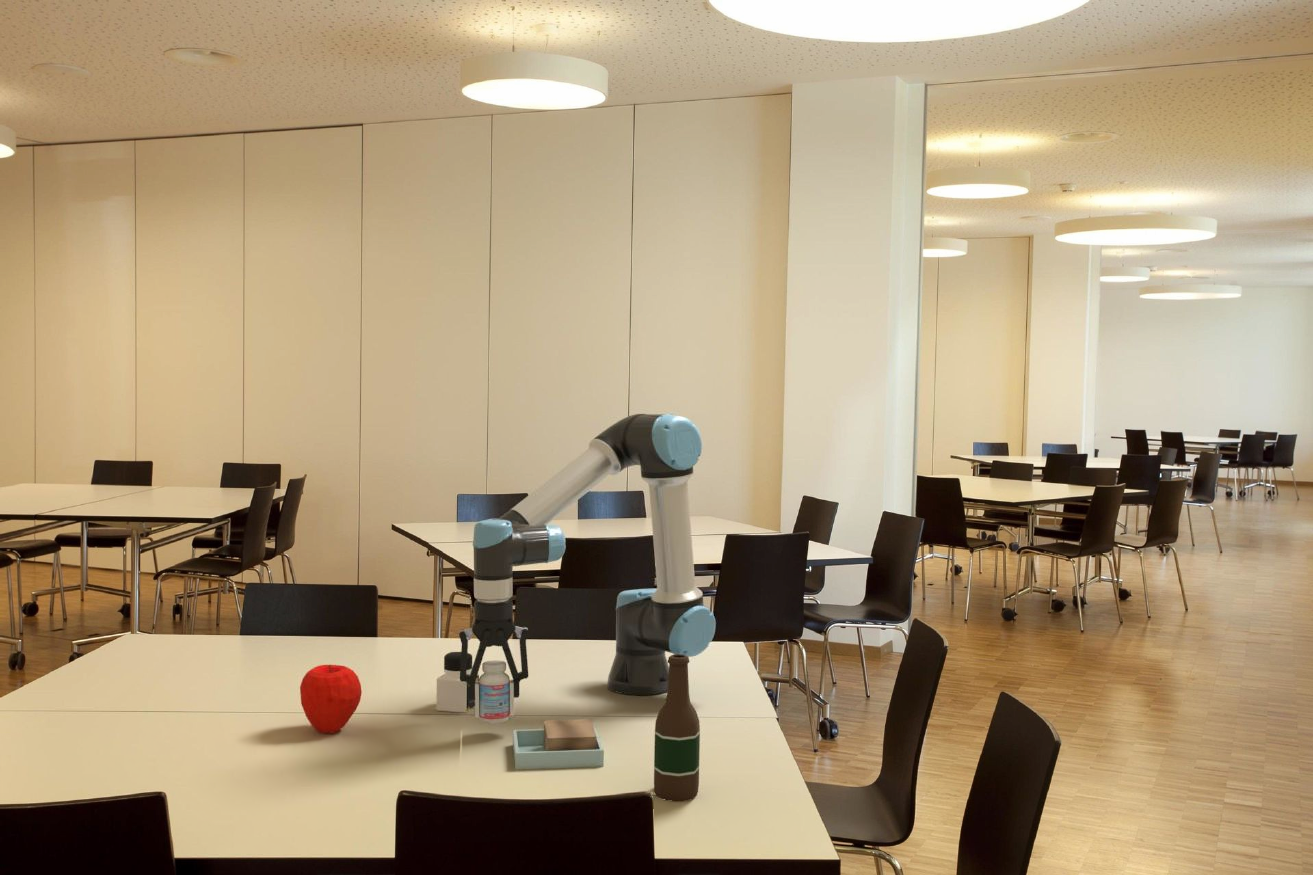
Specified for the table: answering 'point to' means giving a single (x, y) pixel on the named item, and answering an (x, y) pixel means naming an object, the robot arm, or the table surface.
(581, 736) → the walnut block
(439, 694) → the medicine bottle
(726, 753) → the table surface
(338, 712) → the apple
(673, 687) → the beer bottle
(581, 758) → the light blue tray
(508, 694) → the pill bottle
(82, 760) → the table surface
